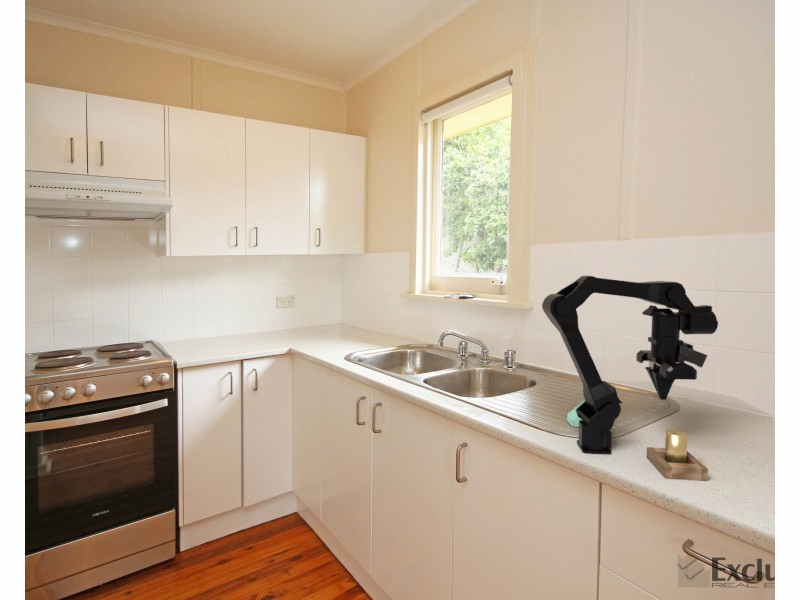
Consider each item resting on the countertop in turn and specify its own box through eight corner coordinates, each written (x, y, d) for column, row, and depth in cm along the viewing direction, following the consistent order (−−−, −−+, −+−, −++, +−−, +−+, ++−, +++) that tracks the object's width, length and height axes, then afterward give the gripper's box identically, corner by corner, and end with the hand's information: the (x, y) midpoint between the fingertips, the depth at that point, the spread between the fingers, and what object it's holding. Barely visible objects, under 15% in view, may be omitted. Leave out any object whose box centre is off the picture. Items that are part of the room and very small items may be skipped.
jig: (665, 478, 93) (665, 466, 93) (646, 457, 103) (646, 447, 103) (707, 480, 92) (707, 469, 92) (684, 459, 102) (684, 448, 101)
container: (580, 407, 120) (606, 385, 139) (559, 411, 124) (587, 389, 143) (588, 429, 119) (613, 404, 139) (567, 432, 123) (594, 407, 142)
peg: (669, 472, 96) (670, 436, 95) (661, 464, 100) (662, 429, 99) (689, 473, 95) (691, 436, 94) (680, 464, 99) (682, 429, 98)
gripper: (725, 342, 95) (721, 413, 97) (683, 328, 114) (681, 389, 115) (668, 341, 97) (665, 411, 98) (636, 328, 115) (634, 388, 117)
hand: (662, 399), depth 107 cm, fingers closed
